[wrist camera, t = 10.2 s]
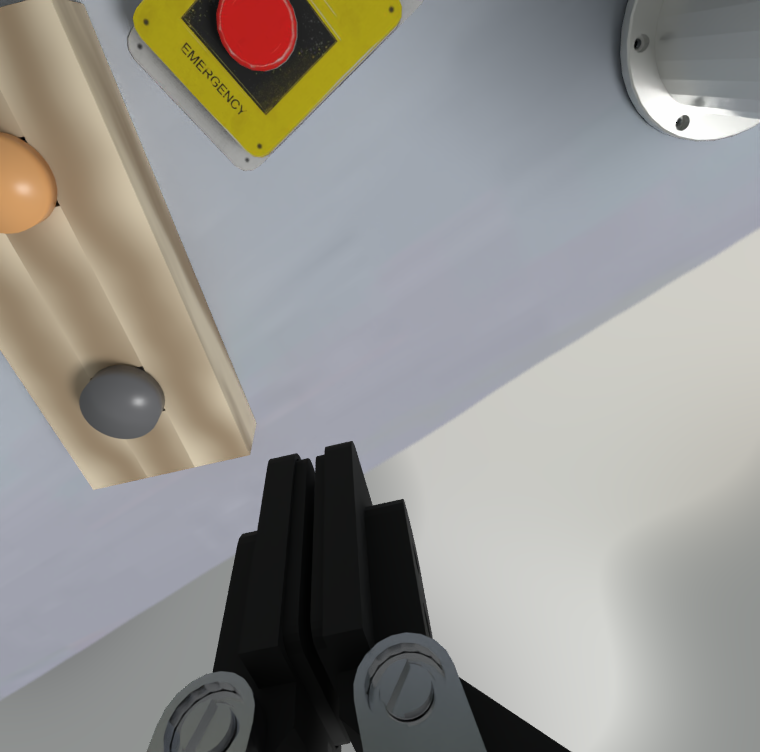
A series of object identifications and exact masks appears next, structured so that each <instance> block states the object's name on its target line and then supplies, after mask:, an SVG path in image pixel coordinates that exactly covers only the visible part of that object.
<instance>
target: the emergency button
mask: <svg viewBox="0 0 760 752" xmlns="http://www.w3.org/2000/svg"><path fill="white" fill-rule="evenodd" d="M423 1H424V0H143V1H142V2H141V3H140V4H139V6H138V7H137V8H136V10H135V13H134V16H133V21H134V27H133V28H132V30H131V32H130V35H129V37H128V46H129V51H130V53H131V54H132V56H133V58H134V59H135V60H136V62H137V63H138V64H139V65H140V66H141V67H142V68H143V69H144V70H145V71H146V72H147V73H148V74H149V75H150V76H151V77H152V78H153V79H154V81H155V82H156V83H157V84H158V85H159V86H160V87H161V88H162V89H163V90H164V91H165V92H166V93H167V94H168V95H169V96H170V97H171V98H172V100H173V101H174V102H175V103H176V104H177V105H178V106H179V107H180V108H181V109H182V110H183V111H184V112H185V113H186V114H187V115H188V116H189V117H190V119H191V120H192V121H193V122H194V123H195V124H196V125H197V126H198V127H199V128H200V129H201V130H202V131H203V132H204V133H205V134H206V135H207V136H208V138H209V139H210V140H211V141H212V142H213V143H214V144H215V145H216V146H217V147H218V148H219V149H220V150H221V151H222V152H223V153H224V154H225V155H226V157H227V158H228V159H229V160H230V161H231V162H232V163H233V164H234V165H235V166H236V167H238V168H239V169H241V170H243V171H252V170H254V169H256V168H257V167H259V166H260V165H261V164H262V163H263V162H264V161H265V160H266V159H267V158H268V157H269V156H270V155H271V154H272V153H273V152H274V151H275V150H276V149H277V148H278V147H279V146H280V145H281V144H282V143H283V142H284V141H285V140H286V139H287V138H288V137H289V136H290V135H291V134H292V133H293V132H294V131H295V130H296V129H297V128H298V127H299V126H300V125H301V124H302V123H303V122H304V121H305V120H306V119H307V118H308V117H309V116H310V115H311V114H312V113H313V112H314V111H315V110H316V109H317V108H318V107H319V106H320V105H321V104H322V103H323V102H324V101H325V100H326V99H327V98H328V97H329V96H330V95H331V94H332V93H333V92H334V91H335V90H336V89H337V88H338V87H339V86H340V85H341V84H342V83H343V82H344V81H345V80H346V79H347V78H348V77H349V76H350V75H351V74H352V73H353V72H354V71H355V70H356V69H357V68H358V67H359V66H360V65H361V64H362V63H363V62H364V61H365V60H366V59H367V58H368V57H369V56H370V55H371V54H372V53H373V52H374V51H375V50H376V49H377V48H378V47H379V46H380V45H381V44H382V43H383V42H384V41H385V40H386V39H387V38H388V37H389V36H390V35H391V34H392V33H393V32H394V31H395V30H396V29H397V28H398V27H399V26H400V25H401V24H402V23H403V22H404V21H405V20H406V19H407V18H408V17H409V16H410V15H411V14H412V13H413V12H414V11H415V10H416V9H417V8H418V7H419V6H420V5H421V4H422V3H423Z"/></svg>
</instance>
